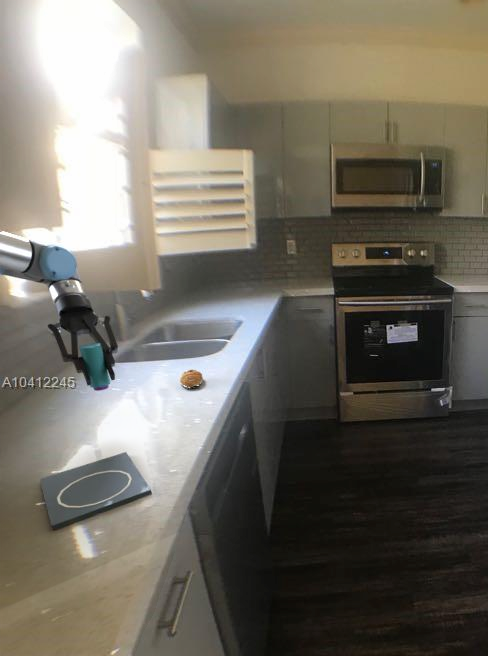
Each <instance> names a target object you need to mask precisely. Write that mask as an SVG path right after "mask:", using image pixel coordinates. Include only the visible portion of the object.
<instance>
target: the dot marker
mask: <svg viewBox="0 0 488 656" xmlns="http://www.w3.org/2000/svg"><path fill="white" fill-rule="evenodd" d="M78 349H79V351H80V355H81V357H82V358H83V360H84V363H85V366H86V368H87V371H88V374H89V376H90V379H91V385H89V387H90V388H92V389H93V391H97V392H98V391H104V390H108V389H109V385H110V384H111V378H110V375H109V373H108V370H107V367H106V363H105V359H104V355H103V351H102V347H101V344H100V343H96V342H93V343H86V344H82V345H80V346H78Z"/></svg>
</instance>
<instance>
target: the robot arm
mask: <svg viewBox="0 0 488 656" xmlns="http://www.w3.org/2000/svg"><path fill="white" fill-rule="evenodd" d="M0 276H6V277H12V278H16V279H20V280H25V281H31V282H35V283H39V284H43V285H46V287H47V290H48V292H49V294H50V297H51V300H52V303H53V305H54V308H55V311H56V314H57V317H58V322H57V323H48V324H47V329H48V334H50V335H51V336H52V337H53V338H54V340H55V344H56V347H57V349H58V352H59V354H60V356H61V359H62V362H63V363H68V362H69V363H72V364H73V366H74V368H75V371H76V373H77V374H83V377H84V380H85V382H86V385H87V386H89V387H90V385H91V379H90V376H89V374H88V371H87V368H86V366H85V363H84V360H83V358H82V356H79V341H78V339H79V338H78V337H79V336H82V335H89V336H90V338H92V339H93V341H94V343H100V344H101V347H102V351H103V355H104V359H105V363H106V367H107V371H108V375H109V379H110V381H115V380H116V373H115V371H114V369H113V368H114V367H115V366H116V360H115V357H114V354H117V353H119V345H118V343H117V340H116V337H115V334H114V331H113V329H112V327H111V317H110V316H109V315H105V316H104V317H101V316H98V314H96V313H95V311H94V309H93V307H92V304H91V301H90V298H89V296H88V294H87V292H86V289H85V286H84V284H83V281H82V278H81V276H80V273H79V270H78V263H77V259H76V257H75V255H74V254H73V252H72V251H70V250H69V249H68V248H67V247H64V246H61V245H56V244H45V243H42V242H38V241H36V240H32V239H28V238H25V237H22V236H18V235H15V234H12V233H9V232H5V231H2V232H0ZM98 323H99V324H100V326H101V327H103V329H104V332H105V335H106V338H107V340H108V344H109V345H108V344H107V341H105V340H104V338H103V337H102V335H101V334H100V332H99V331H98V329H97V328H96V327H97V325H98ZM61 329H63V330H64V331H66V332H68V333H69V334H70V343H71V347H70V349H71V353H68V350H67V347H66V345H65V343H64V340H63V337H62V335H61V331H62V330H61Z"/></svg>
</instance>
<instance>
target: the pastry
mask: <svg viewBox="0 0 488 656" xmlns="http://www.w3.org/2000/svg"><path fill="white" fill-rule="evenodd" d="M202 380H203V381H204V377H203V374H202V372H200V371H198V370H197V369H188V370H186V371H184V372H183V373H182V374H181V376H180V378H179V382H180V384H181V383H182V384H183V385H185V386H187V387H193V386H197V385H199V384H200V383H201V382H202V383H203V381H202ZM182 384H181V385H182ZM193 388H194V387H193Z"/></svg>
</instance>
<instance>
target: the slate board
mask: <svg viewBox="0 0 488 656" xmlns="http://www.w3.org/2000/svg"><path fill="white" fill-rule="evenodd" d="M39 482H40V486H41V490H42V494H43V497H44V502H45V505H46V510H47V513H48V517H49V521H50V526H51V529H52V530H53V531H57V530H59V529H61V528H64V527H68V526H69V525H72V524H75V523H77V522H80V521H84V520H86V519H89V518H92V517H94V516H96V515H97V516H98V515H99V514H102V513H104V512H106V511H110V510H112V509H115V508H118V507H121V506H123V505H126V504H129V503H131V502H134V501H136V500H139V499H142V498H145V497H147V496H150V495H152V494H153V493H152V489H151V487H150V486H149V484H148V483H147V481H146V479H144V477H143V475H142V474H141V473H140V471H139V470H138V468H137V466H136V464H135V463H134V461H133V460H132V459H131V457H130V455H129V454H128V453H127V451H125V452H122V453H121V452H120V453H118V454H115V455H112V456H108V457H105V458H102V459H98V460H96V461H92V462H89V463H86V464H83V465H79V466H75V467H73V468H70V469H67V470H64V471H60V472H57V473H54V474H51V475H48V476H44V477H40V478H39Z"/></svg>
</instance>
